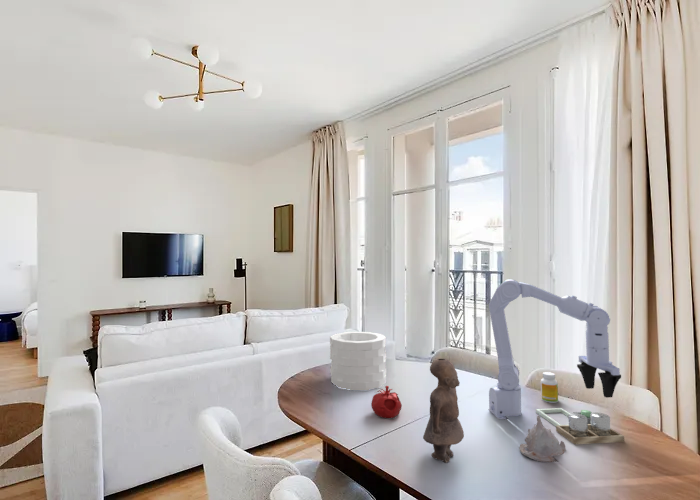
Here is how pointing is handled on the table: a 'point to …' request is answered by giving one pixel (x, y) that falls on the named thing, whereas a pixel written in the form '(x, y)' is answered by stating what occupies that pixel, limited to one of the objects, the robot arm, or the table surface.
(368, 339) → the basket
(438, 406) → the clay figurine
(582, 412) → the button
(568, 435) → the divided tray
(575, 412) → the frame
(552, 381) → the supplement bottle
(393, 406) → the pomegranate
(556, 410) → the pale green tray
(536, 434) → the seashell
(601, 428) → the cylinder
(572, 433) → the billet
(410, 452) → the table surface
